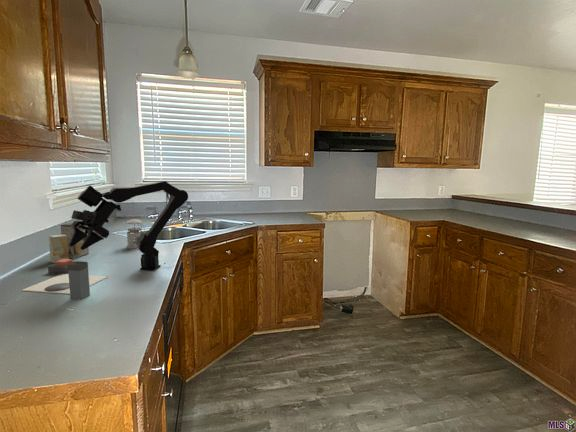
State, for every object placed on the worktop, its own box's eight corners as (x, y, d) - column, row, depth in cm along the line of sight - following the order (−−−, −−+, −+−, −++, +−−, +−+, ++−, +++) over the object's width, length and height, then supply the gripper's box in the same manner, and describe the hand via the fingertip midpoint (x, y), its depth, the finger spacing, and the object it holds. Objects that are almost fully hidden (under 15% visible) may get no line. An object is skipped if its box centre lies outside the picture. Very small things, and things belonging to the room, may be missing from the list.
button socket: (80, 268, 142) (80, 261, 141) (65, 274, 134) (65, 267, 134) (63, 267, 143) (63, 260, 142) (48, 273, 135) (47, 266, 135)
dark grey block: (90, 295, 113) (87, 261, 112) (81, 299, 109) (78, 265, 108) (79, 294, 114) (76, 261, 112) (70, 298, 110) (67, 264, 108)
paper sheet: (107, 277, 131) (107, 276, 131) (73, 294, 114) (73, 293, 113) (62, 274, 134) (62, 273, 134) (22, 290, 116) (21, 289, 116)
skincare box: (53, 263, 148) (51, 237, 146) (50, 261, 151) (47, 235, 149) (69, 260, 153) (67, 235, 151) (66, 258, 156) (64, 233, 154)
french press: (121, 247, 179) (118, 202, 175) (136, 242, 190) (134, 200, 186) (136, 249, 176) (133, 203, 172) (151, 244, 187) (149, 201, 183)
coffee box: (78, 252, 167) (76, 221, 164) (89, 253, 165) (87, 222, 163) (62, 257, 158) (60, 224, 155) (74, 258, 156) (71, 225, 154)
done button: (72, 266, 140) (72, 259, 140) (65, 269, 136) (64, 262, 135) (64, 265, 140) (63, 258, 140) (55, 268, 136) (55, 261, 136)
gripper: (73, 200, 129) (45, 233, 123) (96, 203, 119) (67, 239, 112) (96, 216, 137) (72, 248, 130) (120, 220, 127) (94, 255, 120)
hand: (75, 247), depth 123 cm, fingers open, 9 cm apart
